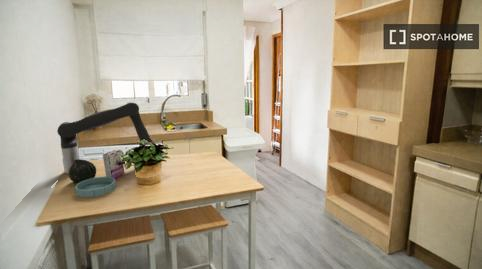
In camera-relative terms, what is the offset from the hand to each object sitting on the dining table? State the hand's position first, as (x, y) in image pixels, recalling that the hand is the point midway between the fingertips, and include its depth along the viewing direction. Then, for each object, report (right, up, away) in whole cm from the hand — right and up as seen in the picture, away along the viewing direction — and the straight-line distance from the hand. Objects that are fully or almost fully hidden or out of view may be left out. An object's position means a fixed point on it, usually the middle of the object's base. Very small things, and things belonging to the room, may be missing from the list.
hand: (113, 163), depth 182 cm
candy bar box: (0, -9, +2) cm, 9 cm away
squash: (-16, -11, -3) cm, 20 cm away
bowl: (-2, -13, -17) cm, 22 cm away
